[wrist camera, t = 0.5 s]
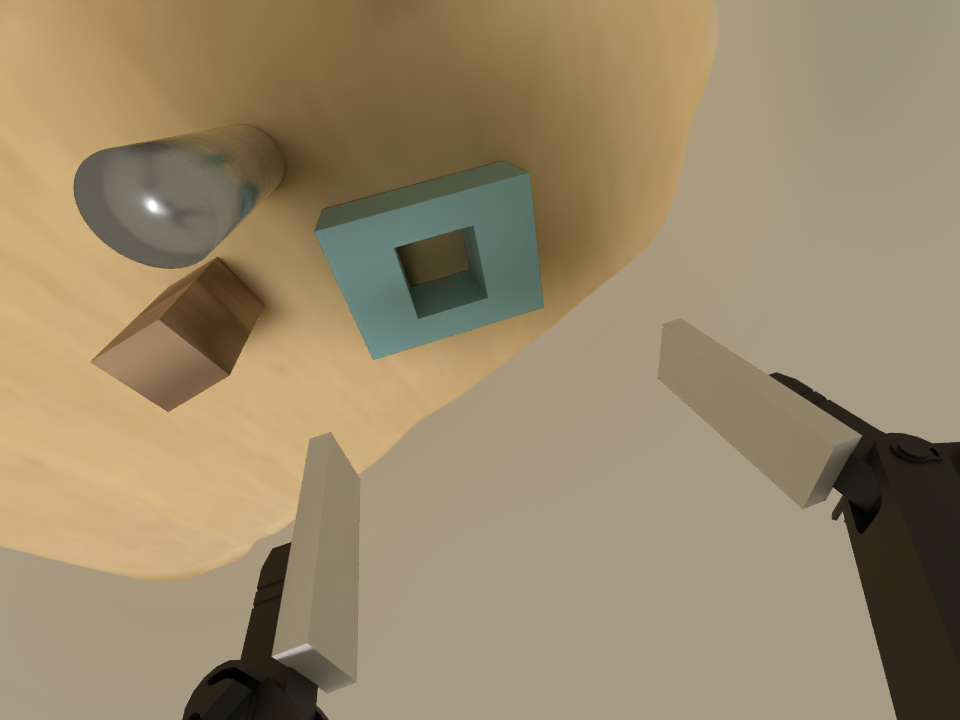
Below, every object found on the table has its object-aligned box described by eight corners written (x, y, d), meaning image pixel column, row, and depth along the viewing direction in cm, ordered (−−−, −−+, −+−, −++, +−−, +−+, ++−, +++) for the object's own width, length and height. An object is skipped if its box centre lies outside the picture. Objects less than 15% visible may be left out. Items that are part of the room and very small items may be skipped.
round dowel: (202, 133, 24) (38, 165, 12) (265, 117, 24) (169, 133, 12) (238, 199, 26) (133, 281, 14) (295, 184, 26) (240, 251, 14)
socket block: (322, 209, 28) (313, 231, 23) (501, 161, 29) (529, 172, 24) (371, 323, 34) (373, 360, 29) (518, 279, 35) (543, 307, 30)
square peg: (167, 287, 28) (89, 361, 20) (217, 256, 28) (158, 319, 20) (218, 331, 31) (168, 412, 23) (264, 303, 30) (229, 375, 22)
